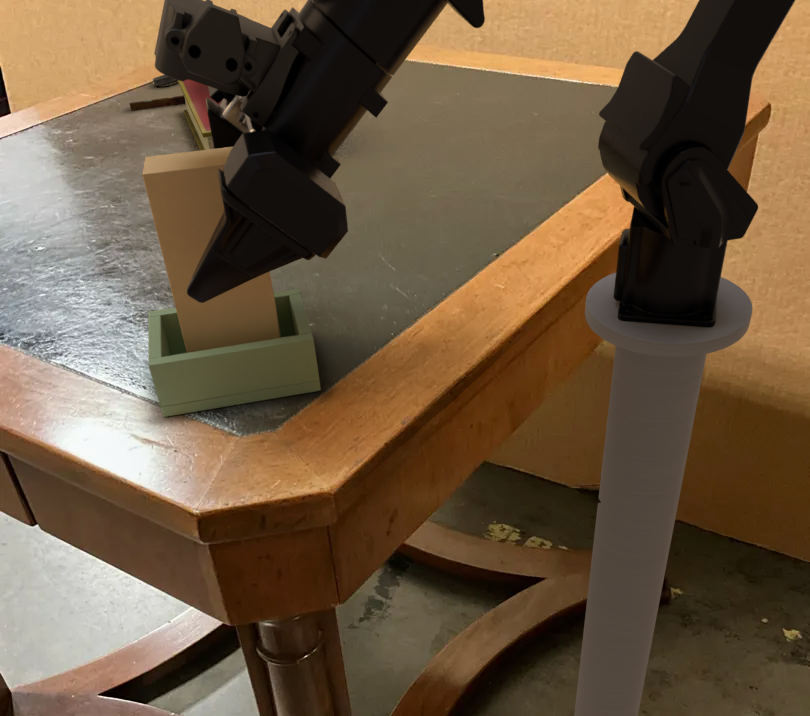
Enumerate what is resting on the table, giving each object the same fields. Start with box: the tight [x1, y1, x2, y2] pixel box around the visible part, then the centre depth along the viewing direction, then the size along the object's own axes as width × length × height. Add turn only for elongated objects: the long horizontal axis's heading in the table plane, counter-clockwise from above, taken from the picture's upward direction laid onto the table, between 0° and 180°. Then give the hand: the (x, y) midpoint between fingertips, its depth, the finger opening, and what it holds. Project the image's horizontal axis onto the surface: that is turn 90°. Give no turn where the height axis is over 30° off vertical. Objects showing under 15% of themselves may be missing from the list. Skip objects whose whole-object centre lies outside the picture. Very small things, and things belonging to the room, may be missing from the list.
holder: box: [147, 287, 322, 418], centre depth 58 cm, size 7×10×4 cm
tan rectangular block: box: [142, 147, 281, 353], centre depth 55 cm, size 3×6×13 cm, turn 99°
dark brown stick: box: [129, 94, 186, 112], centre depth 106 cm, size 15×1×1 cm, turn 104°
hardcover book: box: [177, 79, 222, 151], centre depth 95 cm, size 12×21×4 cm, turn 18°
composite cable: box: [152, 74, 178, 87], centre depth 113 cm, size 10×5×2 cm, turn 106°
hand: (190, 263), depth 54 cm, fingers open, 9 cm apart
